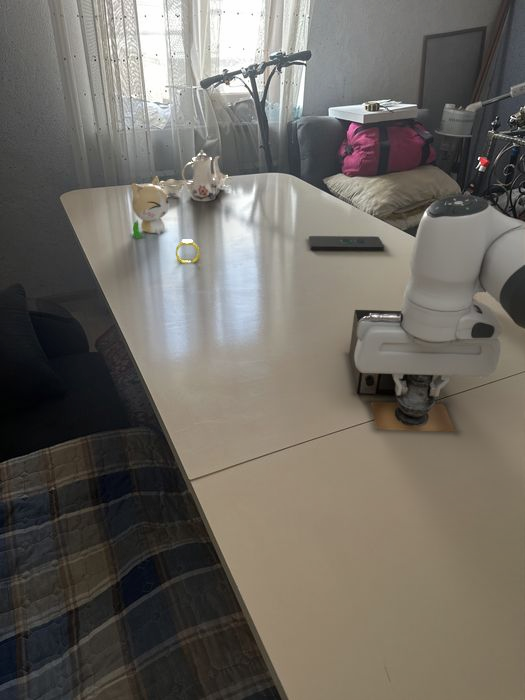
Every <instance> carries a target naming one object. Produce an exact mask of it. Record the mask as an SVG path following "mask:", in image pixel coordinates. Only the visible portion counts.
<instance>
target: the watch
mask: <svg viewBox="0 0 525 700" xmlns="http://www.w3.org/2000/svg"><path fill="white" fill-rule="evenodd" d="M182 246H193V247H194V248H195V249H196V251H197V255H196V257H195V258H194V259H192V261H191V260H188V259H187V260H184V259H182V258H181V257H180V256H179V254H178V252H179V249H180V247H182ZM175 257H176V259H177V260H178V262H180V263H181V264H187V263H188V264H189V263H196V262H197V261H198V260H199V258H200V249H199V246H198V245H197V244H196V243H195V242H194V240H193V239H191V238H185V239H182V240H181V242H180V243H178V245H177V246H176V248H175Z"/></svg>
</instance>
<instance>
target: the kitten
mask: <svg viewBox="0 0 525 700" xmlns="http://www.w3.org/2000/svg"><path fill="white" fill-rule="evenodd" d="M131 191H132V203H131V204H132V210H133V212H134V214H135V215H136V217H137V218H139V220H142V222H141V225H140V226H141V227H139V220H136V221H134V223H133V226H132V232H133V235H132V236H133V237H134V238H136V239H141V238H142V233H141V232H140V231H139V230H140V229H141V230H142V231H143V232H145V233H149V234H155V233H156V234H157V235H159V234H161V233H164V232H165V229H166V227H165V222H164V221H163V219H162V218H163V217H164V216H165V215H167V213H168V212H169V210H170V201H169V196H167V195H166V193H165V192H164V190H163V189H162V188H161V185H160V180H159V177H158V175H156V176H154V178H153V179H152V181H151V182H150V183H147V184H143V185H140V184H137V183H135V182H133V183H131ZM139 228H140V229H139Z"/></svg>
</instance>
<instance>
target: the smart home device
mask: <svg viewBox="0 0 525 700" xmlns="http://www.w3.org/2000/svg"><path fill="white" fill-rule="evenodd" d="M308 243H309V248H310V249H309V250H310V251H313V252H314V251H315V252H384V250H385V249H384V248H385V245H384V243H383V242H382V240H381V239H380V236H370V235H369V236H368V235H365V236H364V235H361V236H359V235H358V236H355V235H353V236H351V235H337V236H336V235H309V236H308Z"/></svg>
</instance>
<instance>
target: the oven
mask: <svg viewBox="0 0 525 700" xmlns="http://www.w3.org/2000/svg"><path fill="white" fill-rule="evenodd" d="M401 311H402V310H379V309H378V310H377V309H354V313H353V319H352V320H353V321H352V329H351V337H350V344H349V353H348V357H349V362H350V367H351V373H352V376H353V382H354V387H355V392H356V395H381V396H396V392H395V386H396V383H395V381H394V379H393V376H392V374H381V373H361V372H360V371H359V370H358V369H357V367H356V365H355V360H354V354H355V348H356V344H357V341H358V337H357V325H358V322H359V321H360V320H361V319H362V318H364V317H366V316H369V314H371V313H379V314H401ZM367 320H369V319H367ZM433 377H434V375H431V378H432V379H433ZM400 380H401V381H406V383H407V385H408V382H409V380H408V374H404V375H403V378H402V379H400Z"/></svg>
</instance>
